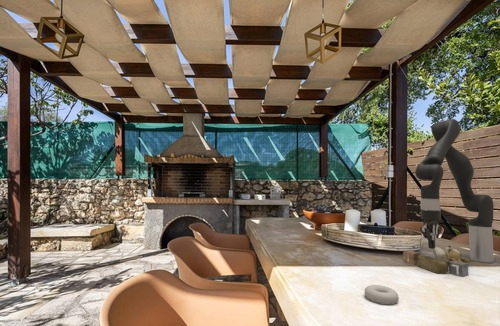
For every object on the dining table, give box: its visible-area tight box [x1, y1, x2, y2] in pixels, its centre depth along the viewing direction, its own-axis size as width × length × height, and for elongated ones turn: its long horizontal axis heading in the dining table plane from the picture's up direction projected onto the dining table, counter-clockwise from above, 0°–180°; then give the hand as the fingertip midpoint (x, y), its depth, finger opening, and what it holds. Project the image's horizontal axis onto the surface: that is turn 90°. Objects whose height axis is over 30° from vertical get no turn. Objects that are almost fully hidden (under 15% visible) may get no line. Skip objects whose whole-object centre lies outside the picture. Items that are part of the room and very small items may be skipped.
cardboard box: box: [402, 250, 421, 265], centre depth 133 cm, size 5×5×5 cm
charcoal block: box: [448, 260, 469, 278], centre depth 116 cm, size 5×5×5 cm
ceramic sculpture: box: [432, 245, 474, 264], centre depth 133 cm, size 11×9×15 cm
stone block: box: [416, 255, 449, 275], centre depth 122 cm, size 6×12×5 cm, turn 12°
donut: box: [364, 284, 400, 305], centre depth 89 cm, size 10×4×10 cm
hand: (431, 248), depth 122 cm, fingers closed
